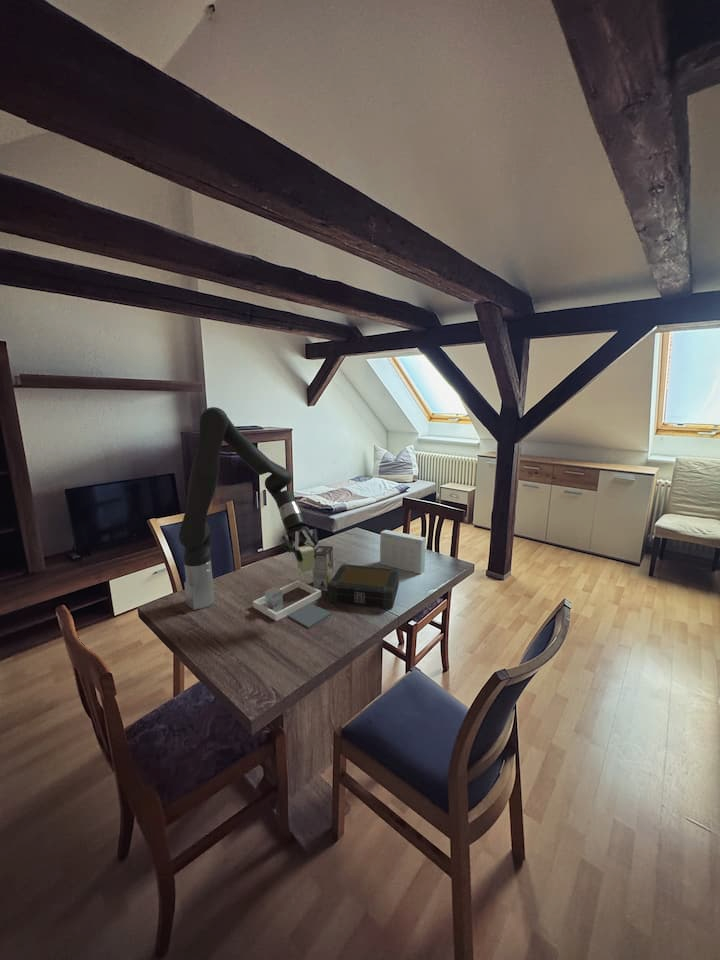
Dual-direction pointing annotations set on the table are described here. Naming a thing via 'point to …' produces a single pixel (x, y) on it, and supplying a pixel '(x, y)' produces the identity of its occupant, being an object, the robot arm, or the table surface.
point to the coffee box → (323, 568)
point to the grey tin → (274, 599)
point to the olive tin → (306, 558)
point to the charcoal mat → (309, 615)
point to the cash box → (364, 586)
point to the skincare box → (402, 551)
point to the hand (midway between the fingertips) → (308, 559)
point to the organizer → (288, 610)
